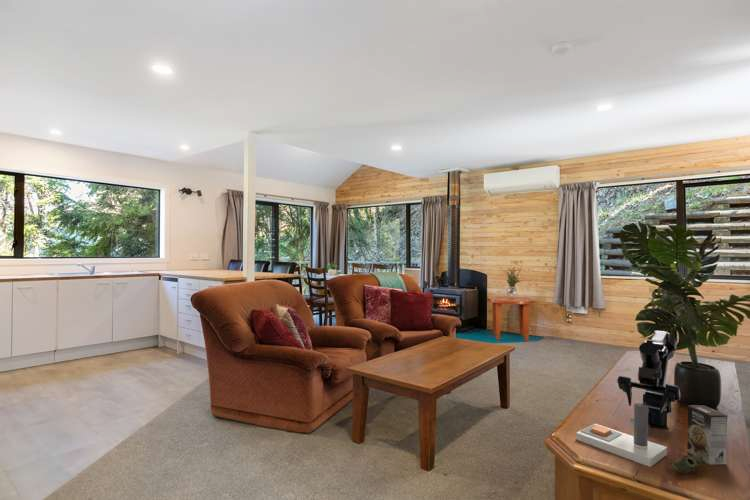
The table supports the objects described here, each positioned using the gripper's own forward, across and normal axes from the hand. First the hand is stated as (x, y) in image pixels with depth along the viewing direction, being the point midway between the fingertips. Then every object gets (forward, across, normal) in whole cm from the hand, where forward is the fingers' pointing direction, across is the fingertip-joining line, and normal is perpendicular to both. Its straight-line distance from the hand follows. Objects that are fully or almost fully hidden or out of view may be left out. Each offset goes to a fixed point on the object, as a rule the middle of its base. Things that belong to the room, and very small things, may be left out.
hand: (644, 408), depth 148 cm
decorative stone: (+17, +13, +3) cm, 22 cm away
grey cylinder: (+13, 0, +3) cm, 13 cm away
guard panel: (+14, -6, +5) cm, 16 cm away
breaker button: (+11, -13, +5) cm, 18 cm away
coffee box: (+6, +17, +13) cm, 22 cm away
